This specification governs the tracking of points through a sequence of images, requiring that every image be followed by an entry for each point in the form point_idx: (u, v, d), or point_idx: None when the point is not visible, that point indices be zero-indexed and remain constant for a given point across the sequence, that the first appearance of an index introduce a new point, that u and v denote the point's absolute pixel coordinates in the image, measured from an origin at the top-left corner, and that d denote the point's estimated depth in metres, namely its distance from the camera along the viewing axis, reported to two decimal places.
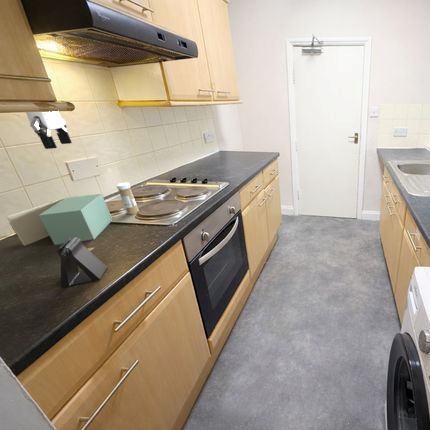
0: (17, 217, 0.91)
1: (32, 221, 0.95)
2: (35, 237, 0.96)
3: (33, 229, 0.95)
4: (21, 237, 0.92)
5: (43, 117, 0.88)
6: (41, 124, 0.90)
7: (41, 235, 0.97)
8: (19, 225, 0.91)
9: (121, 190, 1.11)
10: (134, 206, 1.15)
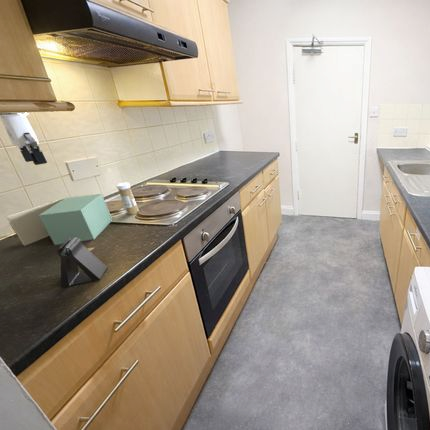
0: (17, 217, 0.91)
1: (32, 221, 0.95)
2: (35, 237, 0.96)
3: (33, 229, 0.95)
4: (21, 237, 0.92)
5: (33, 133, 0.89)
6: (26, 141, 0.89)
7: (41, 235, 0.97)
8: (19, 225, 0.91)
9: (121, 190, 1.11)
10: (134, 206, 1.15)
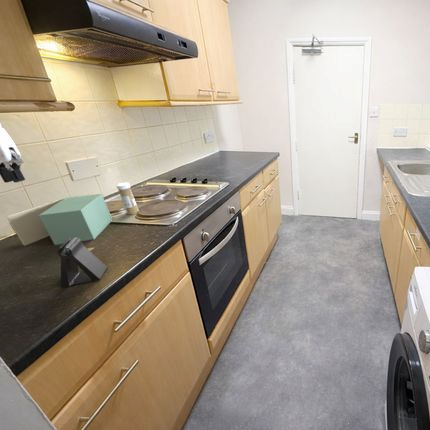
0: (17, 217, 0.91)
1: (32, 221, 0.95)
2: (35, 237, 0.96)
3: (33, 229, 0.95)
4: (21, 237, 0.92)
5: (16, 147, 0.89)
6: None
7: (41, 235, 0.97)
8: (19, 225, 0.91)
9: (121, 190, 1.11)
10: (134, 206, 1.15)
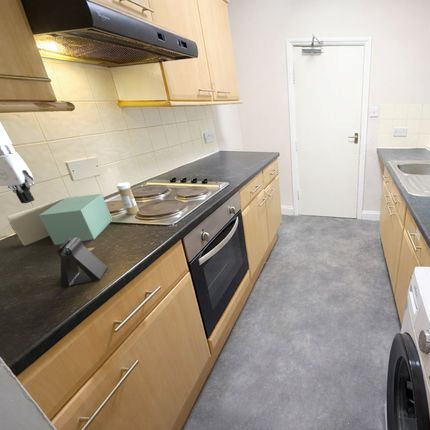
0: (17, 217, 0.91)
1: (32, 221, 0.95)
2: (35, 237, 0.96)
3: (33, 229, 0.95)
4: (21, 237, 0.92)
5: (29, 170, 0.93)
6: None
7: (41, 235, 0.97)
8: (19, 225, 0.91)
9: (121, 190, 1.11)
10: (134, 206, 1.15)
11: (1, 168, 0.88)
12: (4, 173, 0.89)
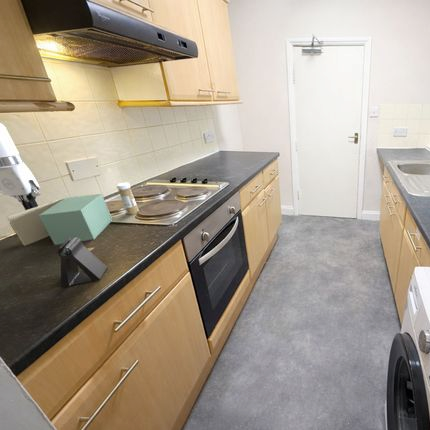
0: (17, 217, 0.91)
1: (32, 221, 0.95)
2: (36, 237, 0.96)
3: (33, 229, 0.95)
4: (21, 237, 0.92)
5: (35, 179, 0.93)
6: None
7: (41, 235, 0.97)
8: (19, 225, 0.91)
9: (121, 190, 1.11)
10: (134, 206, 1.15)
11: (8, 178, 0.88)
12: (11, 183, 0.89)
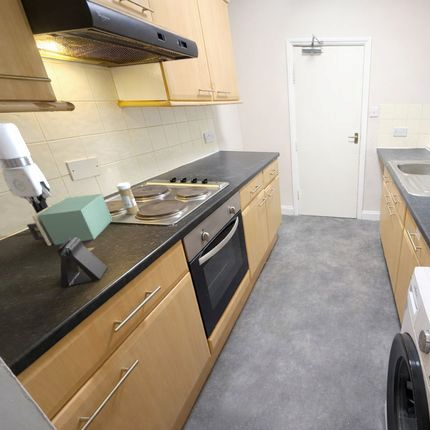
0: None
1: None
2: None
3: None
4: (46, 237, 0.92)
5: (46, 181, 0.92)
6: None
7: None
8: (43, 225, 0.91)
9: (121, 190, 1.11)
10: (134, 206, 1.15)
11: (19, 179, 0.87)
12: (22, 184, 0.88)
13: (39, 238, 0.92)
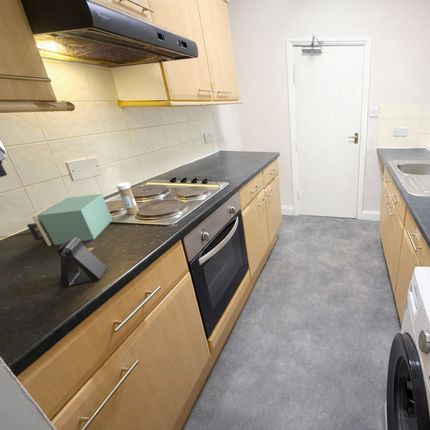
0: None
1: None
2: None
3: None
4: (47, 237, 0.92)
5: (1, 142, 0.89)
6: None
7: None
8: (43, 225, 0.91)
9: (121, 190, 1.11)
10: (134, 206, 1.15)
11: None
12: None
13: (39, 238, 0.92)
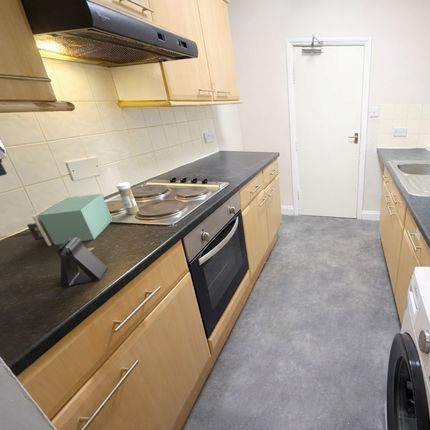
0: None
1: None
2: None
3: None
4: (47, 237, 0.92)
5: (0, 141, 0.89)
6: None
7: None
8: (43, 225, 0.91)
9: (121, 190, 1.11)
10: (134, 206, 1.15)
11: None
12: None
13: (39, 238, 0.92)
